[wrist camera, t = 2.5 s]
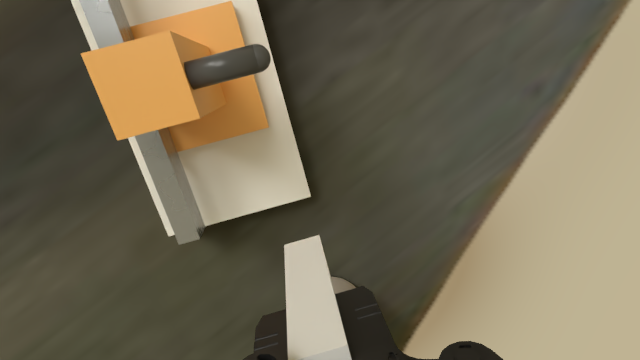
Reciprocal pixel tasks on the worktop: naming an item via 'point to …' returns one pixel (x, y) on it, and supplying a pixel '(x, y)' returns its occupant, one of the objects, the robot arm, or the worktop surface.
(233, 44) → the plug
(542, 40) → the worktop surface
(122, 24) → the grey metal rod
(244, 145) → the socket block
